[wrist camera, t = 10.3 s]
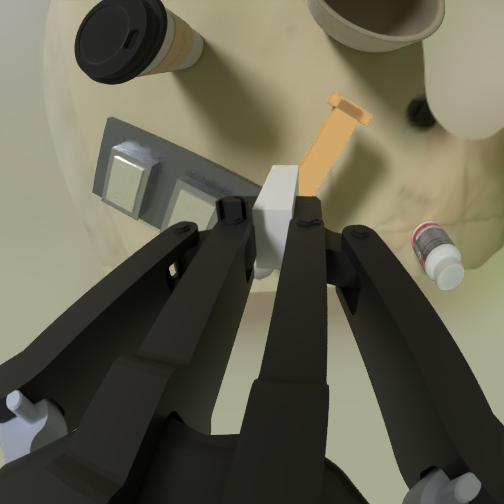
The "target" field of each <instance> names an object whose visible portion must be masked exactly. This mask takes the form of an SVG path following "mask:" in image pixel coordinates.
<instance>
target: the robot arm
mask: <svg viewBox="0 0 504 504" xmlns="http://www.w3.org/2000/svg"><path fill="white" fill-rule="evenodd" d="M215 204H216V211H217V218H218V221H217V223H216V224H215V226H214V227H213V229H210V230H204V231H199V230H198V225H197V224H196V223H194V222H188V221H183V222H182V221H181V222H178V223H176V224H174V225H172V226H170V227H168V228H167V229H166V230H164V231H163V232H162V233H160V234H159V235H158V236H156V237H155V238H154V239H152V240H151V241H150V242H148V243H147V244H146V245H145V246H143V247H142V248H141V249H139V250H138V251H137V252H135V253H134V254H133V255H132V256H130V257H129V258H128V259H127V260H125V261H124V262H123V263H122V264H120V265H119V266H118V267H117V268H115V269H114V270H113V271H112V272H110V273H109V274H108V275H107V276H106V277H104V278H103V279H102V280H101V281H100V282H98V283H97V284H96V285H95V286H94V287H92V288H91V289H90V290H89V291H88V292H86V293H85V294H84V295H83V296H82V297H81V298H80V299H79V300H77V301H76V302H75V303H74V304H73V305H72V306H70V307H69V308H68V309H67V310H66V311H65V312H64V313H63V314H62V315H60V316H59V317H58V318H57V319H56V320H55V321H54V322H53V323H52V324H51V325H50V326H48V327H47V328H46V329H45V330H44V331H43V332H42V333H41V334H40V335H39V336H38V337H37V338H36V339H35V340H34V341H33V342H32V343H31V344H30V345H29V346H28V347H27V348H26V349H25V350H24V351H22V352H21V353H19V354H17V355H16V356H14V357H13V358H11V359H9V360H8V361H6V362H5V363H3V364H1V365H0V445H1V449H2V452H3V456H4V460H5V463H6V464H5V465H4V466H3V467H2V468H1V469H0V504H369V503H368V502H367V501H366V499H365V498H364V497H363V496H362V494H361V493H360V492H359V490H358V489H357V488H356V487H355V485H354V484H353V483H352V482H351V480H350V479H349V478H348V476H347V475H346V474H345V473H344V472H343V471H342V470H341V469H340V468H339V467H338V466H337V465H336V464H335V463H333V462H332V461H330V460H329V459H328V458H326V457H325V451H326V439H327V427H328V411H329V385H327V382H326V376H327V284H331V285H335V286H336V293H337V296H338V298H339V300H340V303H341V305H342V308H343V310H344V312H345V315H346V317H347V320H348V322H349V325H350V327H351V330H352V332H353V335H354V337H355V340H356V343H357V345H358V348H359V350H360V353H361V356H362V358H363V361H364V364H365V367H366V369H367V372H368V375H369V378H370V381H371V383H372V386H373V389H374V392H375V395H376V398H377V401H378V404H379V407H380V410H381V413H382V416H383V419H384V422H385V426H386V429H387V432H388V435H389V438H390V442H391V445H392V449H393V452H394V455H395V458H396V461H397V464H398V467H399V470H400V473H401V475H402V477H403V479H404V481H405V483H406V485H407V486H408V488H409V489H410V491H409V492H408V493H407V494H406V496H405V498H404V500H403V503H402V504H504V426H503V424H502V423H501V422H500V421H499V420H498V419H497V418H496V416H495V415H494V414H493V413H492V410H491V408H490V406H489V404H488V402H487V400H486V398H485V396H484V393H483V391H482V390H481V388H480V386H479V384H478V382H477V380H476V378H475V376H474V374H473V373H472V370H471V369H470V367H469V365H468V363H467V361H466V360H465V358H464V356H463V354H462V353H461V351H460V349H459V348H458V346H457V344H456V343H455V341H454V339H453V338H452V336H451V334H450V333H449V331H448V330H447V328H446V327H445V325H444V324H443V322H442V320H441V319H440V317H439V316H438V314H437V313H436V312H435V310H434V308H433V307H432V305H431V304H430V302H429V301H428V300H427V298H426V297H425V295H424V294H423V293H422V291H421V290H420V288H419V287H418V285H417V284H416V283H415V281H414V280H413V279H412V277H411V276H410V275H409V273H408V272H407V271H406V269H405V268H404V267H403V265H402V264H401V263H400V261H399V260H398V259H397V258H396V256H395V255H394V254H393V253H392V251H391V250H390V249H389V248H388V246H387V245H386V244H385V243H384V241H383V240H382V239H381V238H380V237H379V235H378V234H377V233H376V232H375V231H374V230H373V229H371V228H369V227H367V226H364V225H363V226H362V225H351V226H347V227H345V228H344V229H343V231H342V234H340V233H336V232H332V231H330V230H328V229H326V228H325V227H324V223H323V221H322V212H321V200H319V199H318V198H317V197H316V196H299V165H273V167H272V169H271V171H270V173H269V175H268V177H267V179H266V181H265V183H264V185H263V187H262V189H261V192H260V194H259V196H245V197H244V196H237V195H234V196H226V197H223V198H220V199H218V200H217V201H215ZM255 260H256V267H257V268H259V269H278V270H281V271H280V276H279V282H278V287H277V292H276V298H275V302H274V307H273V313H272V317H271V322H270V327H269V332H268V337H267V342H266V346H265V351H264V356H263V360H262V365H261V370H260V374H259V377H258V379H256V380H254V382H253V384H252V387H251V391H250V394H249V398H248V402H247V406H246V410H245V415H244V419H243V422H242V426H241V430H240V434H229V435H211V416H212V412H213V409H214V406H215V403H216V399H217V396H218V393H219V390H220V387H221V383H222V380H223V377H224V374H225V370H226V367H227V364H228V361H229V358H230V354H231V351H232V347H233V344H234V341H235V338H236V334H237V331H238V328H239V325H240V321H241V318H242V315H243V312H244V308H245V305H246V302H247V298H248V295H249V292H250V289H251V285H252V282H253V279H254V263H255ZM173 263H174V267H175V271H176V273H175V274H174V275H173V276H171V274H170V271H169V267H170V266H171V265H172V264H173ZM75 429H76V430H75ZM74 430H75V431H74ZM72 431H73V432H72Z"/></svg>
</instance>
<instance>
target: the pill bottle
mask: <svg viewBox="0 0 504 504" xmlns="http://www.w3.org/2000/svg"><path fill="white" fill-rule="evenodd" d="M411 241H412V246H413V248H414V250H415V252H416V254H417V256H418V258H419V260H420V262H421V264H422V266H423V268H424V270H425V272H426V274H427V276H428V277H429V278H430V279H431V280H433V281H435V282H436V283H437V285H438V287H439V288H440V289H441V290H443V291H449V290H452V289H454V288H456V287H457V286H458V285H459V284H460V283H461V282H462V280H463V278H464V275H465V270H464V268H463V266H462V264H461V254H460V252H459V250H458V249H457V247H456V246H455V244H454V243H453V242H452V240H451V239H450V238H449V236H448V235H447V234H446V232H445V231H444V230H443V228H442V227H441V226H440V225H439V224H438V223H436V222H434V221H426V222H423V223H421V224H420V225H418V226H417V227H416V229H415V230H414V232H413V234H412V239H411Z"/></svg>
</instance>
